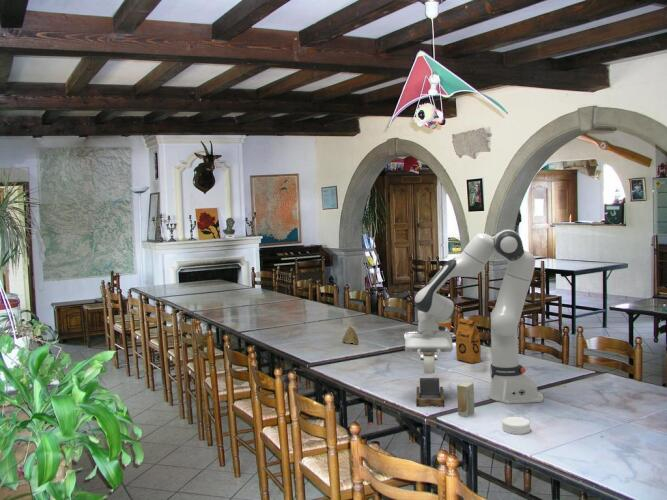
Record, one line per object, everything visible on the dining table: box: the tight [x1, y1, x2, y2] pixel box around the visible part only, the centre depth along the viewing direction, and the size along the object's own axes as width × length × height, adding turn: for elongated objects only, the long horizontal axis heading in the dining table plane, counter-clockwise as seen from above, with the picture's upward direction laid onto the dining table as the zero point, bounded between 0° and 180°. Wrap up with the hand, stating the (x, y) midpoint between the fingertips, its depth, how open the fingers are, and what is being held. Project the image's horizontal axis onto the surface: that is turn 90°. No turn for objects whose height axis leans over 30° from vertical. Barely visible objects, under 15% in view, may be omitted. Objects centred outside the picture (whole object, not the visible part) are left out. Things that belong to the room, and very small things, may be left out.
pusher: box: [419, 377, 440, 395], centre depth 288 cm, size 8×5×7 cm, turn 82°
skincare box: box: [456, 381, 475, 417], centre depth 259 cm, size 6×4×12 cm
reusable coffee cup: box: [438, 317, 452, 335], centre depth 403 cm, size 13×13×15 cm
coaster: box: [501, 416, 531, 435], centre depth 240 cm, size 10×10×4 cm
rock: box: [341, 326, 359, 345], centre depth 392 cm, size 11×9×10 cm
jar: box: [422, 351, 436, 375], centre depth 274 cm, size 5×5×8 cm
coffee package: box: [455, 318, 482, 364], centre depth 340 cm, size 10×12×22 cm
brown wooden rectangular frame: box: [415, 386, 445, 408], centre depth 279 cm, size 11×18×3 cm, turn 172°
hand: (429, 359), depth 273 cm, fingers closed on jar, 5 cm apart
